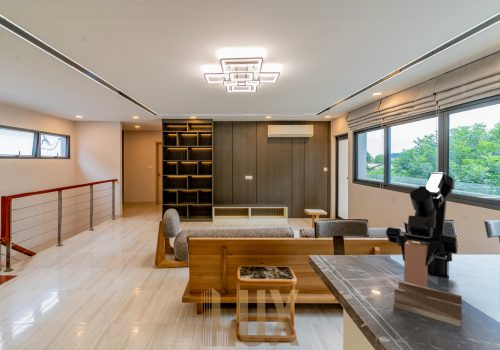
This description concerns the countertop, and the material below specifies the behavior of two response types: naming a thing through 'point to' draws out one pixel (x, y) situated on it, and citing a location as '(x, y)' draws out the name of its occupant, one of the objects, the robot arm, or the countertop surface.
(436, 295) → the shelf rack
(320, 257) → the countertop surface
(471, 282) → the countertop surface
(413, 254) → the salmon orange rectangular block
